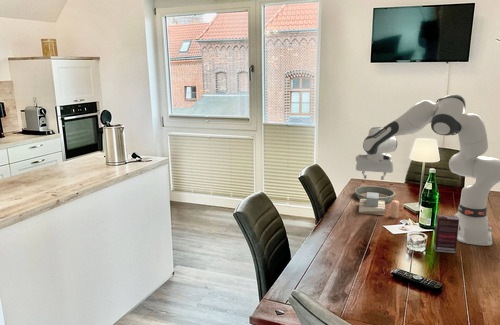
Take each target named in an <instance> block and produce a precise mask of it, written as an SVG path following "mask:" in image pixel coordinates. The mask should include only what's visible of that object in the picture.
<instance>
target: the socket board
mask: <svg viewBox="0 0 500 325" xmlns="http://www.w3.org/2000/svg"><path fill="white" fill-rule="evenodd" d="M358 205H359V206H358V214H363V215H364V214H365V215H376V216H378V215H379V216H385V214H386V203H385V201H380V200H378V207H371V206H366V199H359V204H358Z"/></svg>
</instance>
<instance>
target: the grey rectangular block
mask: <svg viewBox="0 0 500 325" xmlns="http://www.w3.org/2000/svg"><path fill="white" fill-rule="evenodd" d="M378 200H379V193H372V192H367V198H366V206H371V207H378Z"/></svg>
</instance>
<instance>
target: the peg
mask: <svg viewBox="0 0 500 325" xmlns="http://www.w3.org/2000/svg"><path fill="white" fill-rule="evenodd" d="M390 203H391V204H390V214H389V216H390V218H391V219H398V218H399V209H400V208H399V207H400V201H399V200H394V199H392V200H391V201H390Z"/></svg>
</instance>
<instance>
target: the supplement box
mask: <svg viewBox="0 0 500 325" xmlns="http://www.w3.org/2000/svg"><path fill="white" fill-rule="evenodd" d="M435 216H436V218H435V226H434V238H433V246H432V247H433V249H434V251H435V252H439V253H452V254H455V253H457V252H456V251H457V243H458V239H457V235H458V225H459V219H458V218H457V216H454V215H445V214H444V215H443V214H436V215H435Z"/></svg>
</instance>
